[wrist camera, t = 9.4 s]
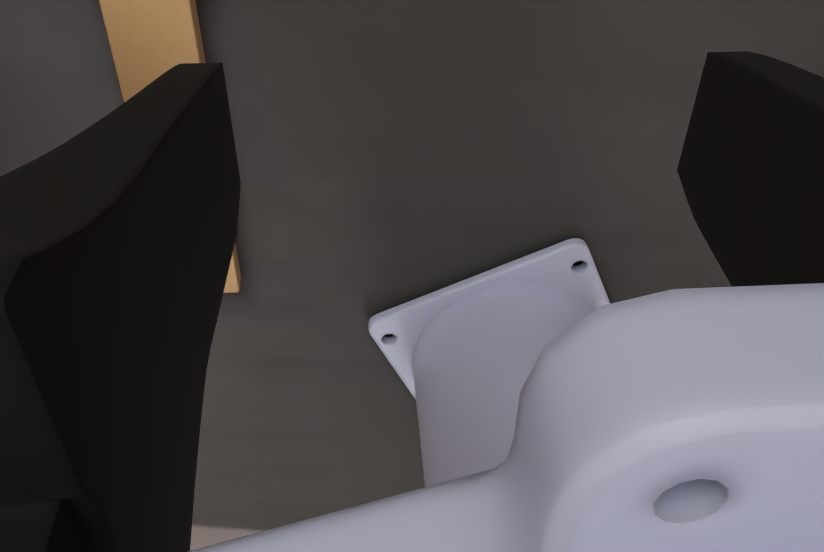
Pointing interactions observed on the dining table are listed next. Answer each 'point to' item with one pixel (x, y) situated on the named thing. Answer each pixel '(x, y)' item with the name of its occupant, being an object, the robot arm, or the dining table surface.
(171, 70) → the robot arm
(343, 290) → the dining table surface
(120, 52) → the salad fork
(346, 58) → the dining table surface
